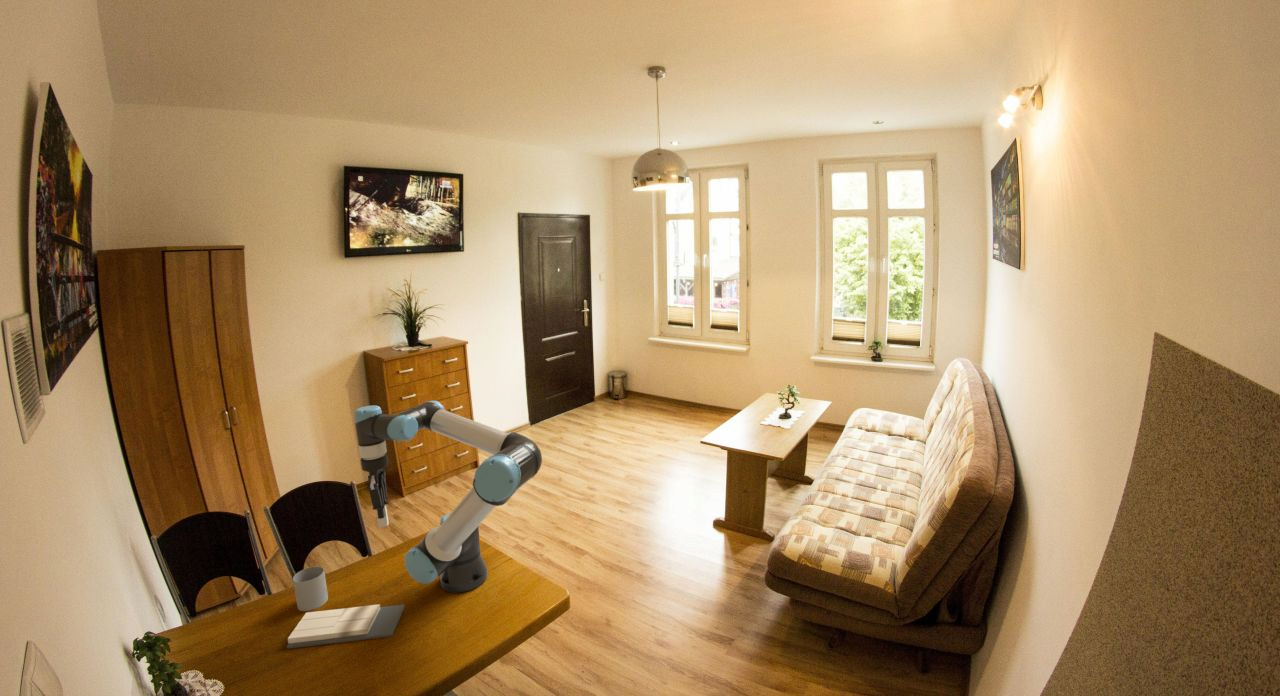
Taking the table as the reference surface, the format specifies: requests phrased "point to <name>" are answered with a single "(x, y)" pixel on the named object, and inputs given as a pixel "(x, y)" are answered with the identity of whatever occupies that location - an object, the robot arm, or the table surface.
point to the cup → (310, 588)
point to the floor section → (321, 623)
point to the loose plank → (355, 621)
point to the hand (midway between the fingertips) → (383, 525)
